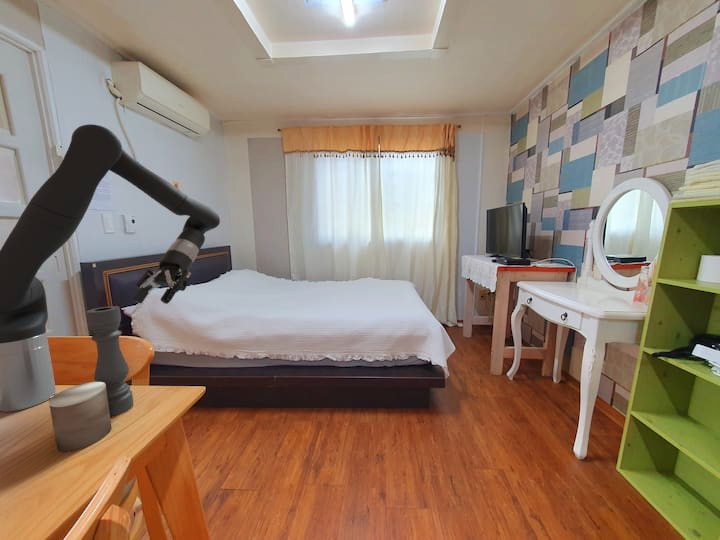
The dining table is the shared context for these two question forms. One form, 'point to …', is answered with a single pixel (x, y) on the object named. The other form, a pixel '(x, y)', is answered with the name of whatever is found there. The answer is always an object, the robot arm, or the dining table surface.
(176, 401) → the dining table surface
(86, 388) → the gray cylinder
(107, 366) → the candle holder
